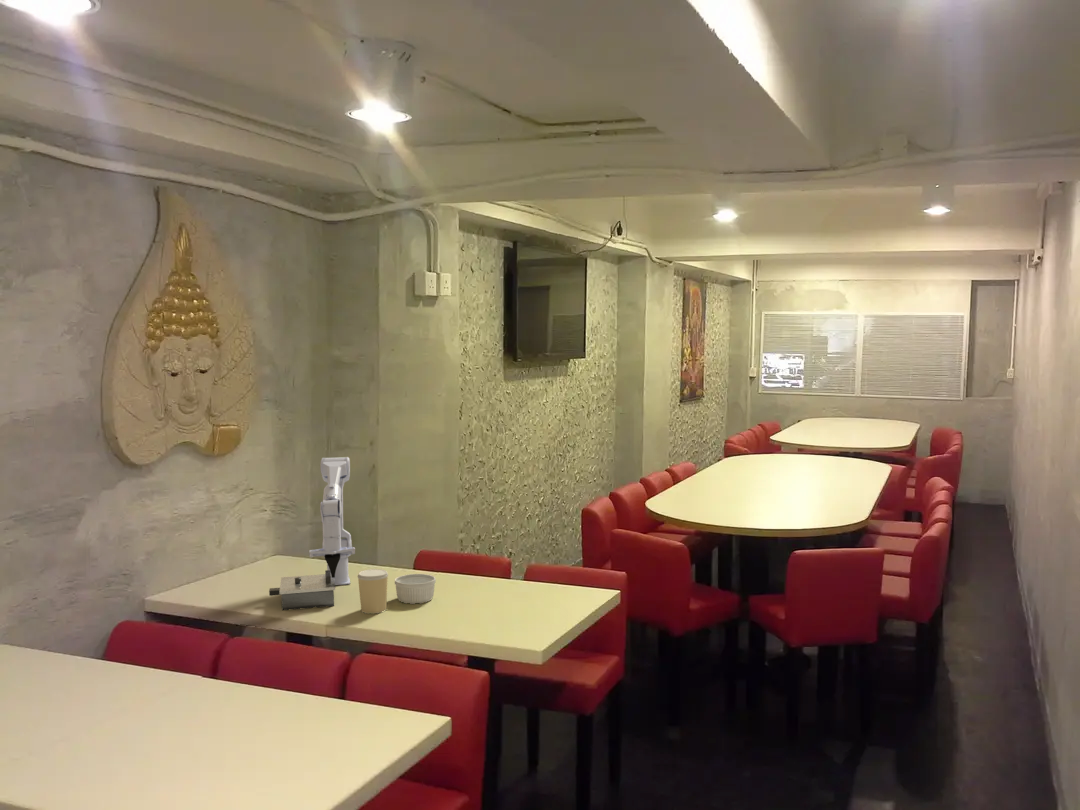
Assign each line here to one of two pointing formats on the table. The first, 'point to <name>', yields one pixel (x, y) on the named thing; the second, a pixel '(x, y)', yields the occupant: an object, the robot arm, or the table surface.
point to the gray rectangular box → (305, 599)
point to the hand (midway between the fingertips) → (333, 576)
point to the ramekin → (415, 588)
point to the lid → (307, 583)
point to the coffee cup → (373, 590)
